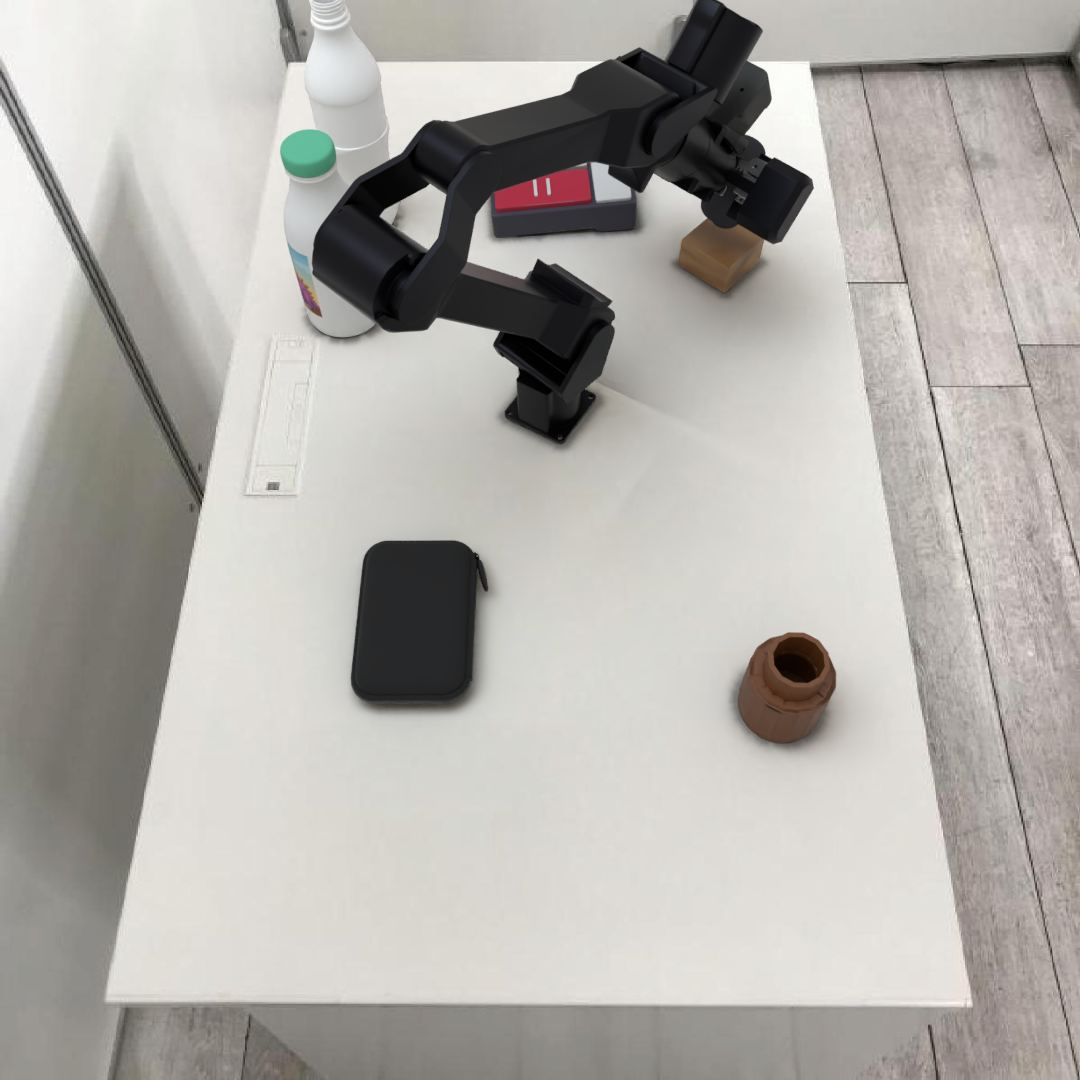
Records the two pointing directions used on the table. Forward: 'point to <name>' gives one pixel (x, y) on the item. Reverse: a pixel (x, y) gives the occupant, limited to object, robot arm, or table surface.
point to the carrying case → (416, 622)
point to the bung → (730, 190)
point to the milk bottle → (315, 226)
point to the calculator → (565, 203)
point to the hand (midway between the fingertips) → (739, 184)
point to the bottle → (786, 687)
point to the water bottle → (346, 94)
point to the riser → (720, 254)
